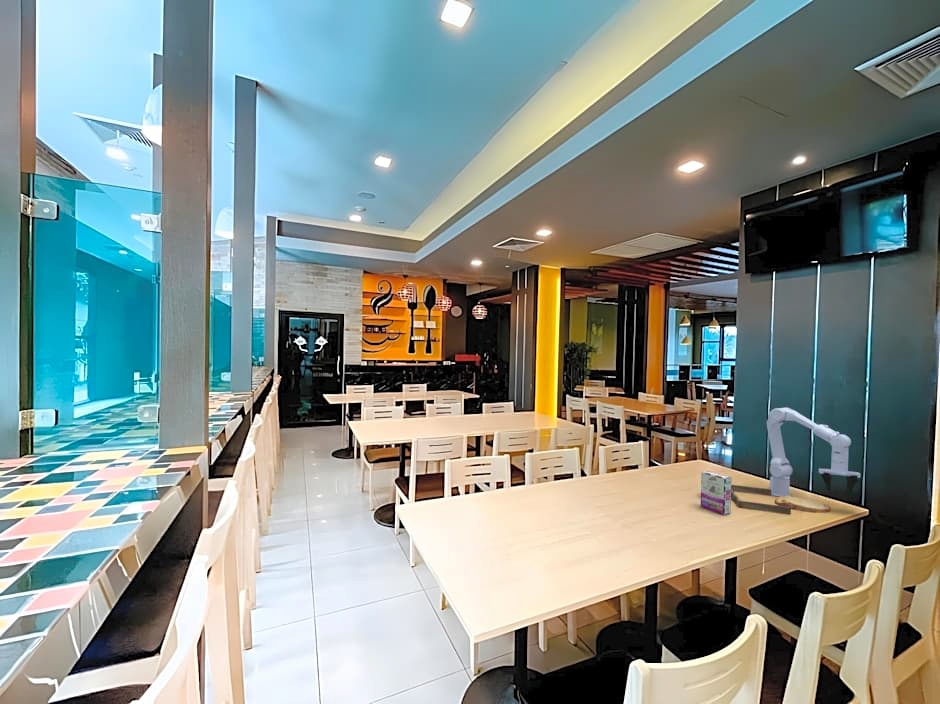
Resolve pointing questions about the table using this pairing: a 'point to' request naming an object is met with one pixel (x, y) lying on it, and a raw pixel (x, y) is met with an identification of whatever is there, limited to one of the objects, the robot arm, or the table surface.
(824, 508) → the bread slice
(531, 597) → the table surface
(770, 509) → the frame
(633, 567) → the table surface
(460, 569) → the table surface
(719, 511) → the candy bar box
